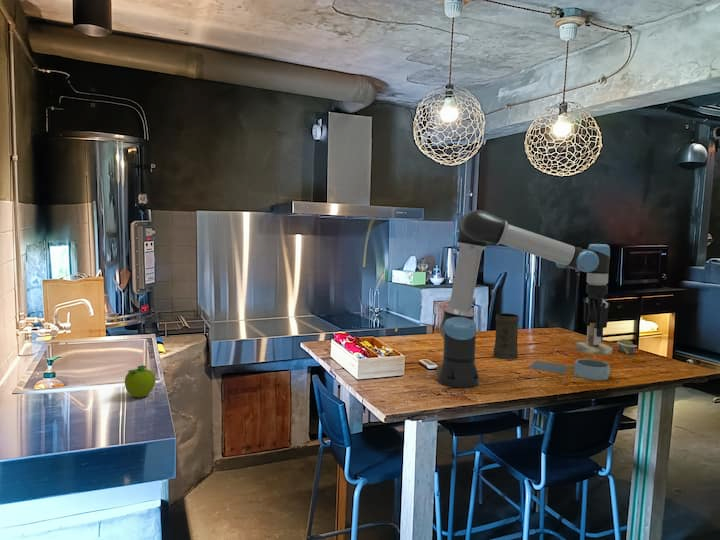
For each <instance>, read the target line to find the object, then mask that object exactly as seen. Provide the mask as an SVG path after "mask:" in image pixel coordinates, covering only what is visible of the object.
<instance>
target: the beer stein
mask: <svg viewBox="0 0 720 540" xmlns="http://www.w3.org/2000/svg"><path fill="white" fill-rule="evenodd" d="M519 321H520V317H519V315H518V314H515V313H504V312H503V313H501V312H500V313H496V314H495V326H496V327H495V341H494V348H493V355H492V356H493V358H496V359H500V360H501V359H502V360H509V361H510V360H517V359H518V358H519V355H518V353H519V351H518V331H519V330H518V329H519V328H518V327H519Z"/></svg>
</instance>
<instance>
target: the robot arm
mask: <svg viewBox="0 0 720 540" xmlns="http://www.w3.org/2000/svg"><path fill="white" fill-rule="evenodd" d="M456 239H457V240H456V243H457V245H458V246H459V250H458V256H457V263H456V267H455V273H454V278H453V284H452V288H451V295H450V299H449V305H448V306H447V307H446V308H445V309H444V312H443V316H442V317H443V318H442V320H441V323H440V326H439V332H440V336H441V337H442V339H443V352H442V353H443V356H442V357H443V358H442V362H441V365H440V368H439V371H438V373H437V381H438V382H439V383H440V384H441V385H444V386H448V387H451V388H452V387H453V388H473V387H476V386H478V385H479V383H480V381H479V380H480V376H479V373H478V370H477V365H476V362H475V361H476V340H477V332H478V331H477V324H476V322H475V321H474V315H475V314H474V313H473V312H472V307H473V306H472V305H473V301H474V294H475V289H476V284H477V279H478V273H479V268H480V262H481V259H482V258H481V257H482V252H483V251H484V250H485V249H487V247H488V244H491V245H495V246H498V245H504V246H507V247H508V248H509V247H510V248H512V249H516V250H518V251H521V252H524V253H527V254H530V255H533V256H536V257H539V258H541V259H542V258H543V259H545V260H548V261H551V262H554V263H555V265H556V267H557V268H559V269H560V268H561V269H572V270H577V271H579V272H583V273H586V283H587V284H586V286H585V287H586V289H585V293H586V294H587V297H583V298H582V301H583V323H585V324H586V342H589V330H590V323H596V327H594V341H593V345H601V344H602V337H603V329H605V328H606V329H607V325H608V318H609V309H610V306H611V303H610V302H607V301H606V297H605V296H606V295H608V292H609V291H608V289H609V286H608V284H609V273H610V272H609V270H610V259H611V247H610V245H608V244H605V243H603V244H602V243H590V244H589V245H588V247H587V248H580V247H578V246H577V247H576V246H574V245H571V244H568V243H566V242H563V241H559V240H557V239H554V238H551V237H547V236H544V235H541V234H538V233H535V232H533V231H529V230H527V229H524V228H520V227H518V226H514V225H513V224H509V223H508V221H507V220H506V219H503V218H500V217H498V216H496V215H494V214H492V213H489V212H488V211H485V210H483V209H482V210H481V209H479V210H478V209H477V210H470V211H468V212H466V213H464V214H462V216H461V218H460V219H459V223H458V235H457V238H456Z"/></svg>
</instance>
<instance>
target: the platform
mask: <svg viewBox="0 0 720 540" xmlns="http://www.w3.org/2000/svg"><path fill="white" fill-rule="evenodd" d="M616 344H618V345H619V348H618V351H619V352H622V353H626V355H632V356H634V352H635V351H634V350H635V348H637V347H638V345H637V344H633V341H632V340H628V339H626V338H625V339H624V338H621V339H619V340H617V341H616Z"/></svg>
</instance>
